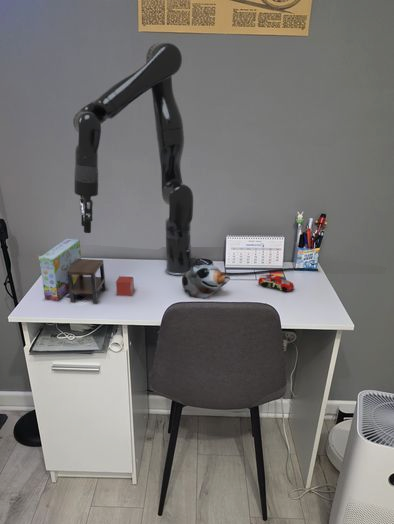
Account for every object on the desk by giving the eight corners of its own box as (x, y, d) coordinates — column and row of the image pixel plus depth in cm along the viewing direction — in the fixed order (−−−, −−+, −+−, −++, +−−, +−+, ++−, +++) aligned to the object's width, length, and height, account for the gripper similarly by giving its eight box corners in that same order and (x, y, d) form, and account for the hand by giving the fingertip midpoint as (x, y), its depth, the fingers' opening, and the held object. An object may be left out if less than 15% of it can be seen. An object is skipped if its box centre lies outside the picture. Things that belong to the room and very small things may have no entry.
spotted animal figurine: (220, 283, 179) (234, 257, 168) (219, 308, 172) (233, 282, 161) (181, 273, 176) (192, 245, 165) (178, 298, 169) (189, 271, 158)
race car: (295, 288, 177) (297, 278, 175) (289, 293, 173) (291, 283, 171) (262, 280, 183) (263, 270, 181) (256, 285, 179) (257, 275, 177)
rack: (106, 289, 174) (103, 259, 169) (97, 303, 164) (93, 272, 159) (81, 288, 175) (77, 258, 169) (70, 302, 165) (66, 271, 159)
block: (134, 289, 174) (133, 276, 172) (131, 295, 170) (130, 282, 167) (120, 289, 174) (119, 276, 172) (116, 295, 170) (115, 281, 168)
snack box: (59, 301, 165) (53, 258, 158) (44, 299, 166) (37, 257, 159) (84, 277, 183) (80, 238, 175) (70, 276, 184) (65, 237, 176)
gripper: (101, 184, 153) (99, 235, 161) (95, 176, 165) (94, 224, 172) (76, 182, 151) (76, 234, 158) (72, 174, 163) (72, 223, 170)
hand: (86, 229), depth 165 cm, fingers open, 8 cm apart
